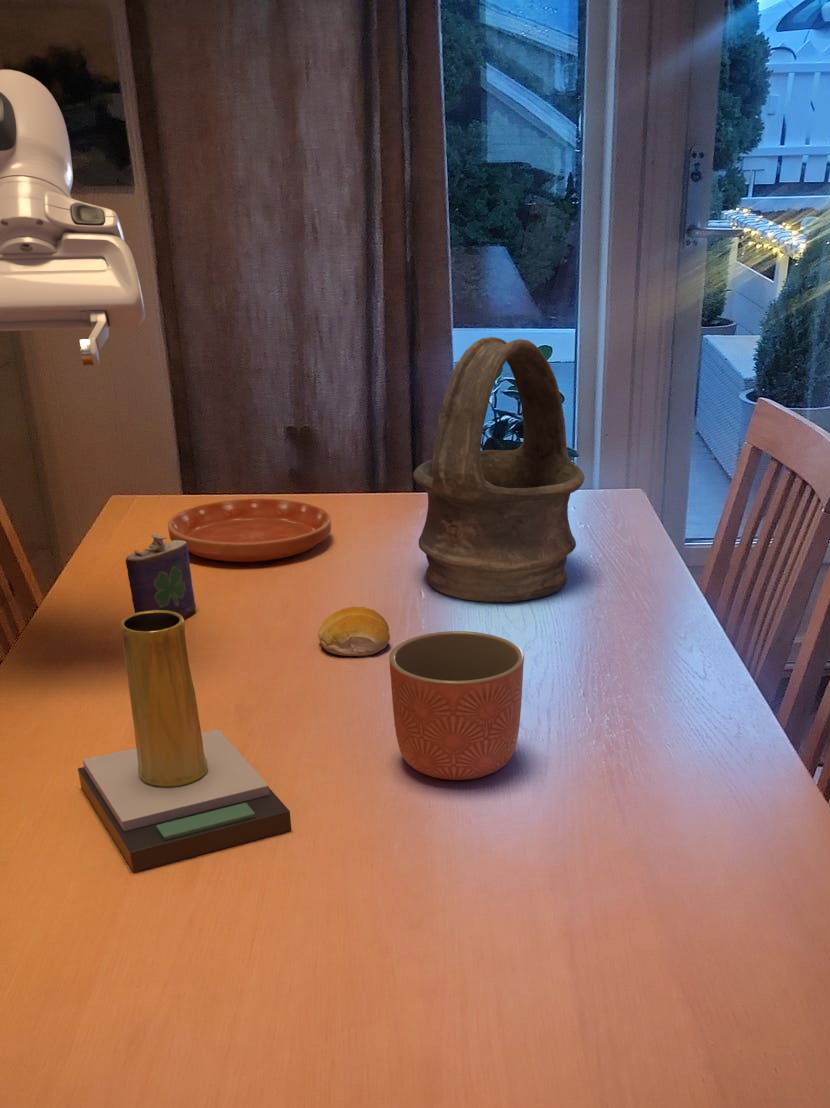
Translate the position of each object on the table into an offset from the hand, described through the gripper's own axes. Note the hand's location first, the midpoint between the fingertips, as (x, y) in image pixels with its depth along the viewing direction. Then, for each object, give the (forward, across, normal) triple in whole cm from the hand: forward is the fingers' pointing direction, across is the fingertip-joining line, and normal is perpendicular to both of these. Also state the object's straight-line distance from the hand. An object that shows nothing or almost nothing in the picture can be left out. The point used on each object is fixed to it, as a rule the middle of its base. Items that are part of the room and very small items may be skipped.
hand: (38, 363), depth 115 cm
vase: (+40, +9, +3) cm, 41 cm away
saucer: (-11, +19, +58) cm, 62 cm away
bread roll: (+18, +29, +30) cm, 45 cm away
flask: (+10, +7, +38) cm, 40 cm away
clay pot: (+4, +50, +43) cm, 66 cm away
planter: (+40, +35, +7) cm, 54 cm away
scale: (+43, +9, +4) cm, 44 cm away
